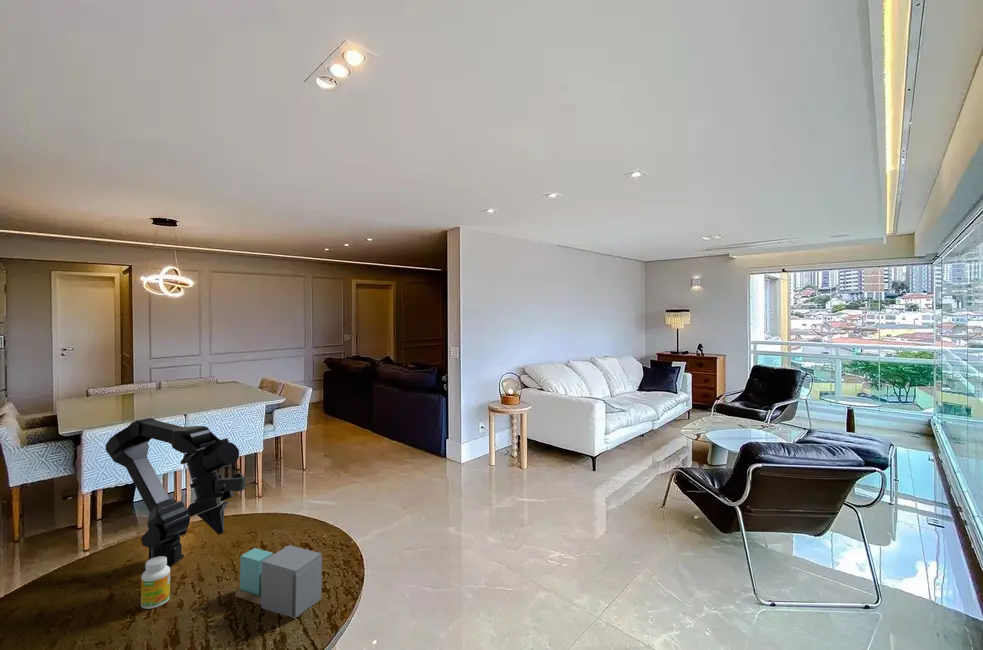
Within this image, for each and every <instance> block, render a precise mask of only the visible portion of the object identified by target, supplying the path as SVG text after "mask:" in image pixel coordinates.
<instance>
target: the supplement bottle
mask: <svg viewBox="0 0 983 650" xmlns="http://www.w3.org/2000/svg"><path fill="white" fill-rule="evenodd" d="M144 566H145V569H144V570H145V571H143V572H142V574H141V577H140V579H141V580H140V581H141V582H140V583H141V584H140V586H141V587H140V606H141V608H143V609H146V610H151V609H155V608H158V607H161V606H162V605H165V604H166V603H167V602H168V601H169V599H170V598H171V567H169V566H167V558H166V557H164V556H159V557H155V558H152V559H150V560H149V559H148V560H147V561H145V565H144Z"/></svg>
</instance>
